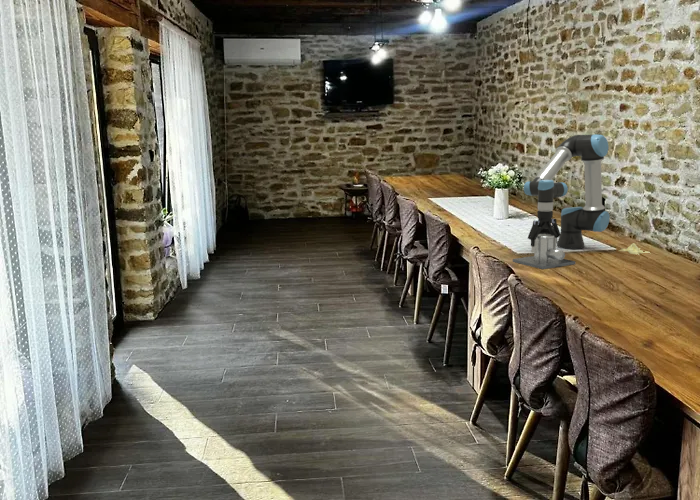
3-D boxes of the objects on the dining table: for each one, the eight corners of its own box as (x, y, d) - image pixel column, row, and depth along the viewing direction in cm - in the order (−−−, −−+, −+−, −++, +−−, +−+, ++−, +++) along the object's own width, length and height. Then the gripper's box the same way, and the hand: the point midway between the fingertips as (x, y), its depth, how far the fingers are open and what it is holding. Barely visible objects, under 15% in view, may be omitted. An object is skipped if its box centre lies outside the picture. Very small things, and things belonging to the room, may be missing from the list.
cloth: (606, 251, 353) (607, 241, 352) (635, 249, 356) (635, 239, 355) (631, 259, 331) (631, 248, 330) (661, 256, 335) (662, 245, 334)
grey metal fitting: (529, 259, 318) (530, 235, 315) (543, 257, 322) (544, 233, 320) (553, 265, 303) (554, 239, 300) (568, 262, 307) (569, 237, 305)
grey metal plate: (544, 257, 330) (544, 239, 328) (575, 264, 311) (576, 245, 309) (512, 261, 321) (512, 244, 319) (542, 269, 301) (543, 250, 299)
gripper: (557, 207, 319) (556, 247, 323) (521, 211, 309) (520, 252, 312) (568, 209, 313) (567, 249, 317) (531, 213, 302) (530, 254, 306)
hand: (543, 251), depth 315 cm, fingers open, 13 cm apart
